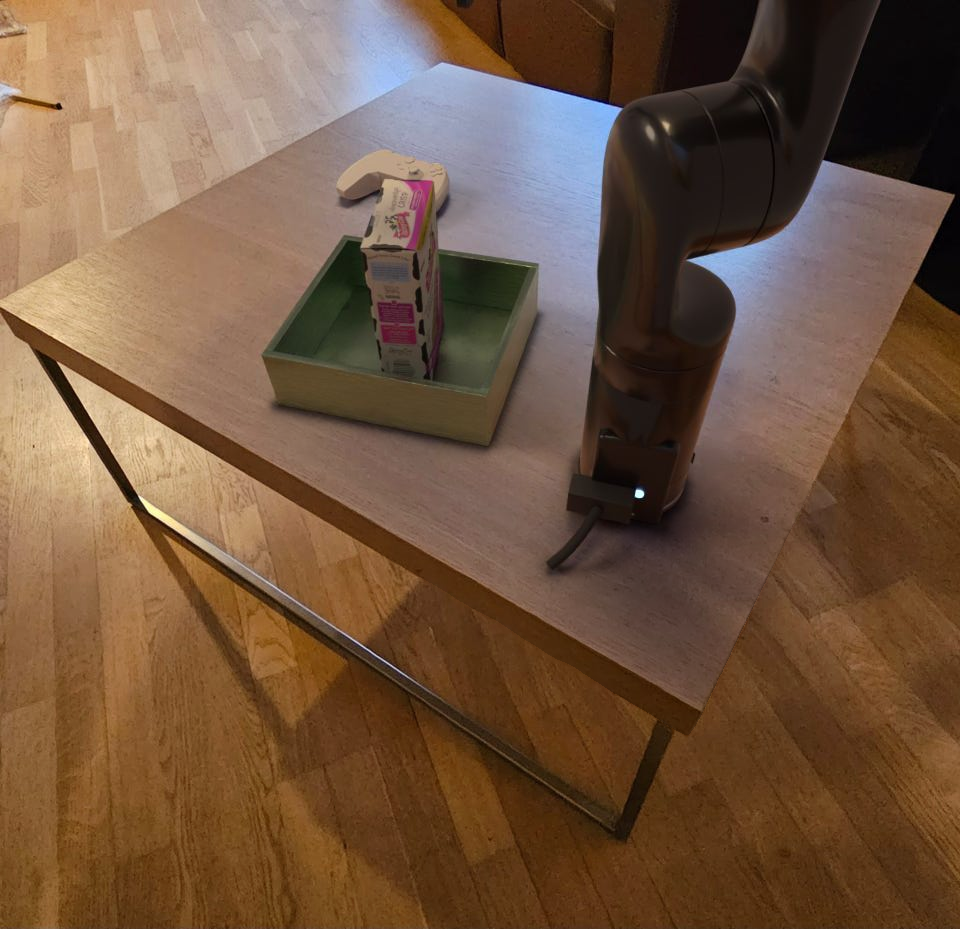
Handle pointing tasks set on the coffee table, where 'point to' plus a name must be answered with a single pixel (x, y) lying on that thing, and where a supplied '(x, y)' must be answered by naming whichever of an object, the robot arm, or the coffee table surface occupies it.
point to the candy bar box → (405, 277)
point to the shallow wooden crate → (398, 398)
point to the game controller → (390, 175)
